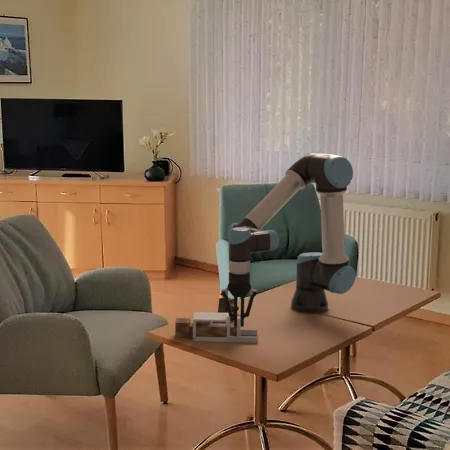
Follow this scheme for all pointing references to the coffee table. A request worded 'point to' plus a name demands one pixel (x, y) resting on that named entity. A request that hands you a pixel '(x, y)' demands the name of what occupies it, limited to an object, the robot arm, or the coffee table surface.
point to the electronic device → (223, 308)
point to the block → (182, 328)
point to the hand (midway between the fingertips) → (238, 334)
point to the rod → (212, 330)
